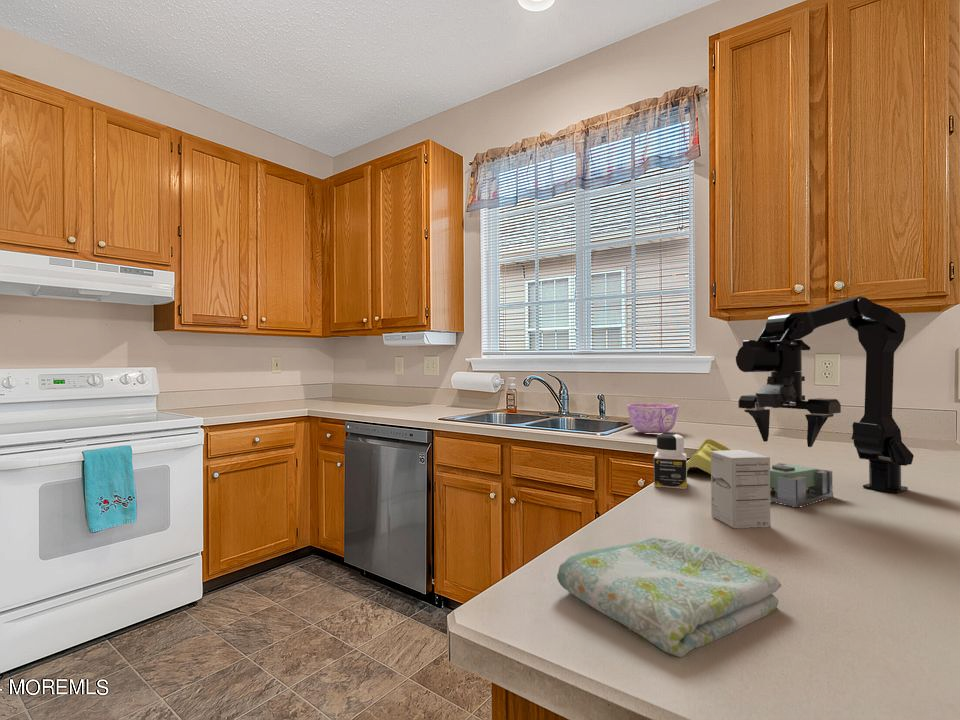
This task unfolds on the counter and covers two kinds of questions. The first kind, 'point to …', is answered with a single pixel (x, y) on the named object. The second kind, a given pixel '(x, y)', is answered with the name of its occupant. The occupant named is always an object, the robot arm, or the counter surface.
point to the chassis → (802, 489)
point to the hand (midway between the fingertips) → (786, 444)
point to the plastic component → (705, 455)
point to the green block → (792, 474)
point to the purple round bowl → (653, 417)
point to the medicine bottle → (670, 462)
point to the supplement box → (740, 488)
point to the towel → (671, 591)
